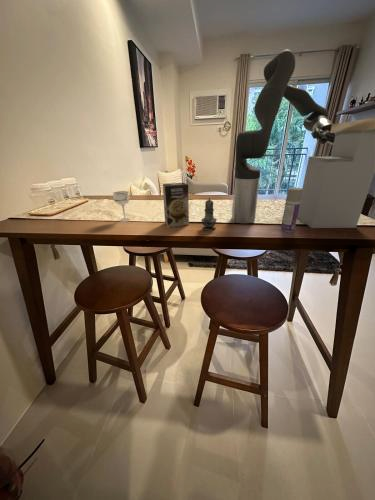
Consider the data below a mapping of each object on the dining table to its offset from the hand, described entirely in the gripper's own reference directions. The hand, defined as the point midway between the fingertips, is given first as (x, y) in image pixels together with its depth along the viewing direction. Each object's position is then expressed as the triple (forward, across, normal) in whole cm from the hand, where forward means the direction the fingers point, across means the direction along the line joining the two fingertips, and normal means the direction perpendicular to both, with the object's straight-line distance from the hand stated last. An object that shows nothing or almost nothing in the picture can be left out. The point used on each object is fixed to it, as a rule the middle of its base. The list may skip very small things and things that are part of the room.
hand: (334, 144), depth 83 cm
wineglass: (+26, -73, +47) cm, 91 cm away
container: (+31, -10, +23) cm, 40 cm away
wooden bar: (+6, 0, -7) cm, 9 cm away
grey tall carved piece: (+33, -38, +32) cm, 59 cm away
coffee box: (+29, -50, +38) cm, 69 cm away
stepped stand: (+20, +6, +21) cm, 30 cm away
